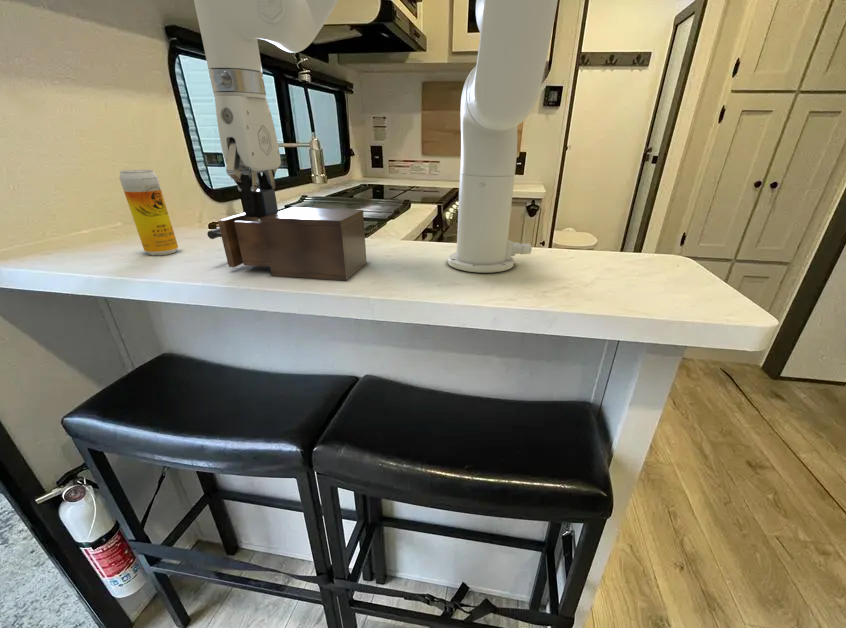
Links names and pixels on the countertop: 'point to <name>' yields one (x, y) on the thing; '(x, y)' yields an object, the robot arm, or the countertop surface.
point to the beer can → (149, 211)
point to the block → (268, 201)
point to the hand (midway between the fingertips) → (262, 213)
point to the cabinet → (315, 242)
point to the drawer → (242, 240)
